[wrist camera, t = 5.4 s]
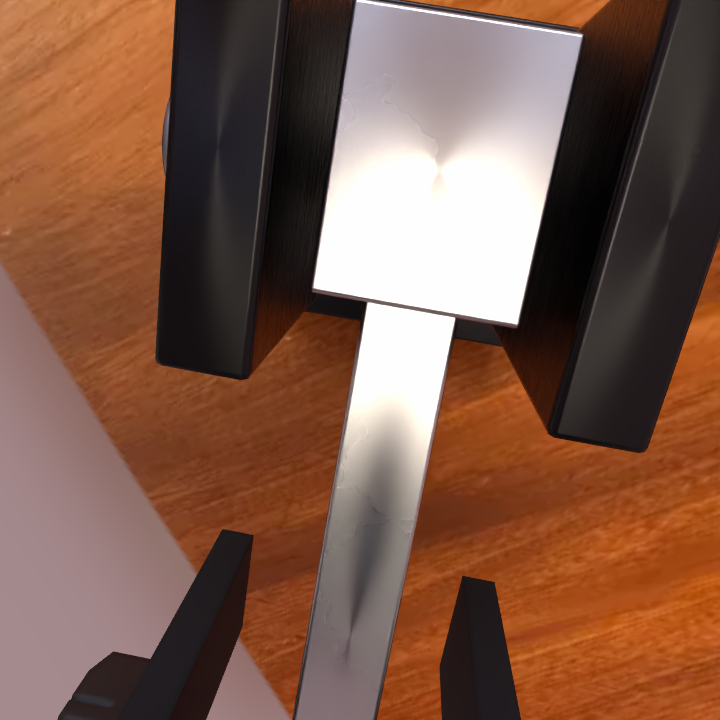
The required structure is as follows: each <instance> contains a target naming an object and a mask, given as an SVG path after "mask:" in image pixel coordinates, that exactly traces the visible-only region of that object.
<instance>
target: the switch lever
mask: <svg viewBox="0 0 720 720" xmlns="http://www.w3.org/2000/svg"><path fill="white" fill-rule="evenodd" d="M584 45H585V35H584V34H582V33H579V32H573V31H567V30H560V29H554V28H548V27H541V26H535V25H529V24H522V23H516V22H510V21H503V20H497V19H491V18H484V17H478V16H472V15H465V14H459V13H453V12H446V11H440V10H433V9H427V8H421V7H414V6H408V5H402V4H395V3H389V2H383V1H376V0H354V1H353V2H352V7H351V13H350V20H349V27H348V33H347V40H346V46H345V53H344V60H343V66H342V73H341V79H340V86H339V93H338V99H337V106H336V112H335V119H334V126H333V132H332V139H331V145H330V152H329V159H328V165H327V172H326V179H325V185H324V192H323V198H322V205H321V212H320V218H319V225H318V231H317V238H316V245H315V251H314V258H313V264H312V271H311V278H310V284H309V288H310V291H312V292H313V293H317V294H323V295H329V296H334V297H340V298H346V299H351V300H357V301H363V302H364V304H363V310H362V316H361V322H360V328H359V334H358V339H357V345H356V351H355V357H354V363H353V369H352V375H351V380H350V386H349V392H348V398H347V404H346V410H345V415H344V421H343V427H342V433H341V439H340V445H339V451H338V456H337V462H336V468H335V474H334V480H333V486H332V491H331V497H330V503H329V509H328V515H327V521H326V527H325V532H324V538H323V544H322V550H321V556H320V562H319V567H318V573H317V579H316V585H315V591H314V597H313V603H312V608H311V614H310V620H309V626H308V632H307V638H306V643H305V649H304V655H303V661H302V667H301V673H300V679H299V684H298V690H297V696H296V702H295V708H294V714H293V719H292V720H377V715H378V710H379V705H380V701H381V696H382V691H383V686H384V681H385V676H386V671H387V666H388V662H389V657H390V652H391V647H392V642H393V637H394V632H395V627H396V623H397V618H398V613H399V608H400V603H401V598H402V593H403V588H404V583H405V579H406V574H407V569H408V564H409V559H410V554H411V549H412V544H413V540H414V535H415V530H416V525H417V520H418V515H419V510H420V505H421V500H422V496H423V491H424V486H425V481H426V476H427V471H428V466H429V461H430V457H431V452H432V447H433V442H434V437H435V432H436V427H437V422H438V417H439V413H440V408H441V403H442V398H443V393H444V388H445V383H446V378H447V374H448V369H449V364H450V359H451V354H452V349H453V344H454V339H455V334H456V330H457V325H458V320H459V319H464V320H470V321H475V322H481V323H487V324H492V325H498V326H504V327H509V328H519V326H520V325H521V323H522V318H523V314H524V309H525V305H526V300H527V296H528V292H529V287H530V283H531V278H532V274H533V270H534V265H535V261H536V256H537V252H538V248H539V243H540V239H541V234H542V230H543V226H544V221H545V217H546V212H547V208H548V204H549V199H550V195H551V190H552V186H553V181H554V177H555V173H556V168H557V164H558V159H559V155H560V151H561V146H562V142H563V137H564V133H565V129H566V124H567V120H568V115H569V111H570V107H571V102H572V98H573V93H574V89H575V85H576V80H577V76H578V71H579V67H580V62H581V58H582V54H583V49H584Z"/></svg>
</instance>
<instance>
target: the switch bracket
mask: <svg viewBox="0 0 720 720" xmlns="http://www.w3.org/2000/svg"><path fill="white" fill-rule="evenodd" d="M353 1H354V0H176V4H175V22H174V40H173V57H172V75H171V92H170V98H169V101H168V104H167V108H166V113H165V118H164V125H163V135H162V155H163V165H164V172H165V177H166V180H165V198H164V215H163V233H162V250H161V268H160V285H159V303H158V321H157V338H156V356H155V358H156V362H157V363H158V364H160V365H163V366H168V367H173V368H178V369H184V370H189V371H195V372H200V373H206V374H211V375H217V376H222V377H227V378H233V379H238V380H244V379H248V378H249V377H250V376H251V375H252V373H253V372H254V371H255V370H256V369H257V368H258V366H259V365H260V364H261V363H262V362H263V360H264V359H265V358H266V357H267V356H268V354H269V353H270V352H271V351H272V350H273V348H274V347H275V346H276V345H277V344H278V342H279V341H280V340H281V339H282V338H283V336H284V335H285V334H286V333H287V332H288V331H289V329H290V328H291V327H292V326H293V325H294V323H295V322H296V321H297V320H298V319H299V317H300V316H301V315H302V314H303V313H304V311H306V312H311V313H317V314H323V315H328V316H334V317H339V318H345V319H351V320H356V321H361V316H362V310H363V304H364V302H363V301H357V300H351V299H346V298H340V297H334V296H329V295H323V294H317V293H313V292H312V291H310V288H309V284H310V278H311V271H312V264H313V258H314V251H315V245H316V238H317V231H318V225H319V218H320V212H321V205H322V198H323V192H324V185H325V179H326V172H327V165H328V159H329V152H330V145H331V139H332V132H333V126H334V119H335V112H336V106H337V99H338V93H339V86H340V79H341V73H342V66H343V60H344V53H345V46H346V40H347V33H348V27H349V20H350V13H351V7H352V2H353ZM376 1H383V2H389V3H395V4H402V5H408V6H414V7H421V8H427V9H433V10H440V11H446V12H453V13H459V14H465V15H472V16H478V17H484V18H491V19H497V20H503V21H510V22H516V23H522V24H529V25H535V26H541V27H548V28H554V29H560V30H567V31H573V32H579V33H582V34H584V35H585V45H584V49H583V54H582V58H581V62H580V67H579V71H578V76H577V80H576V85H575V89H574V93H573V98H572V102H571V107H570V111H569V115H568V120H567V124H566V129H565V133H564V137H563V142H562V146H561V151H560V155H559V159H558V164H557V168H556V173H555V177H554V181H553V186H552V190H551V195H550V199H549V204H548V208H547V212H546V217H545V221H544V226H543V230H542V234H541V239H540V243H539V248H538V252H537V256H536V261H535V265H534V270H533V274H532V278H531V283H530V287H529V292H528V296H527V300H526V305H525V309H524V314H523V318H522V323H521V325H520V326H519V328H509V327H504V326H498V325H492V324H487V323H481V322H475V321H470V320H464V319H459V320H458V325H457V330H456V334H455V338H457V339H463V340H468V341H474V342H479V343H485V344H491V345H496V346H502V347H503V348H504V350H505V352H506V354H507V356H508V358H509V360H510V362H511V364H512V366H513V368H514V369H515V371H516V373H517V375H518V377H519V379H520V381H521V383H522V385H523V387H524V389H525V391H526V392H527V394H528V396H529V398H530V400H531V402H532V404H533V406H534V408H535V410H536V412H537V414H538V415H539V417H540V419H541V421H542V423H543V425H544V427H545V429H546V431H547V433H548V434H549V435H551V436H553V437H554V438H560V439H565V440H571V441H576V442H581V443H587V444H592V445H598V446H603V447H609V448H614V449H620V450H625V451H630V452H636V453H642V452H645V450H646V449H647V448H648V445H649V442H650V439H651V437H652V434H653V431H654V428H655V425H656V422H657V419H658V416H659V413H660V410H661V407H662V404H663V401H664V399H665V396H666V393H667V390H668V387H669V384H670V381H671V378H672V375H673V372H674V369H675V366H676V363H677V361H678V358H679V355H680V352H681V349H682V346H683V343H684V340H685V337H686V334H687V331H688V328H689V326H690V323H691V320H692V317H693V314H694V311H695V308H696V305H697V302H698V299H699V296H700V293H701V290H702V288H703V285H704V282H705V279H706V276H707V273H708V270H709V267H710V264H711V261H712V258H713V255H714V252H715V250H716V247H717V244H718V241H719V238H720V0H610V1H609V2H608V3H607V4H606V5H605V6H604V7H603V8H602V9H601V10H600V11H598V12H597V13H596V14H595V15H594V16H593V17H592V18H591V19H590V20H589V21H588V22H586V23H585V24H584V25H583V26H582V27H581V28H578V27H571V26H565V25H559V24H552V23H546V22H540V21H533V20H527V19H520V18H514V17H508V16H501V15H495V14H489V13H482V12H476V11H470V10H463V9H457V8H451V7H444V6H438V5H431V4H425V3H419V2H412V1H406V0H376Z"/></svg>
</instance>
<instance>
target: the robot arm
mask: <svg viewBox="0 0 720 720" xmlns="http://www.w3.org/2000/svg"><path fill="white" fill-rule="evenodd" d="M252 543H253V535H250V534H245V533H240V532H235V531H230V530H224V529H223V530H222V531H221V533H220V535H219V537H218V539H217V540H216V542H215V544H214V546H213V548H212V549H211V551H210V553H209V555H208V556H207V558H206V560H205V562H204V564H203V565H202V567H201V569H200V571H199V573H198V574H197V576H196V578H195V580H194V582H193V584H192V585H191V587H190V589H189V591H188V593H187V594H186V596H185V598H184V600H183V602H182V603H181V605H180V607H179V609H178V611H177V613H176V614H175V616H174V618H173V619H172V622H171V623H170V625H169V627H168V628H167V631H166V632H165V634H164V636H163V638H162V639H161V641H160V643H159V645H158V646H157V648H156V650H155V652H154V654H153V656H152V657H151V659H147V658H143V657H138V656H133V655H127V654H123V653H118V652H112V653H111V654H110V655H108V656H107V657H106V658H104V659H103V660H102V661H101V662H99V663H98V664H97V665H95V666H94V667H93V668H92V669H90V670H89V671H88V673H87V674H86V676H85V677H84V679H83V680H82V682H81V683H80V685H79V686H78V688H77V689H76V691H75V692H74V694H73V696H72V699H71V700H69V701H68V703H67V704H66V706H65V707H64V709H63V710H62V712H61V713H60V715H59V717H58V720H206V718H207V716H208V713H209V711H210V708H211V706H212V703H213V701H214V698H215V695H216V693H217V690H218V688H219V685H220V683H221V680H222V677H223V675H224V672H225V670H226V667H227V665H228V662H229V660H230V657H231V654H232V652H233V649H234V647H235V644H236V642H237V639H238V636H239V634H240V631H241V629H242V625H243V617H244V609H245V601H246V592H247V584H248V576H249V568H250V560H251V552H252ZM440 685H441V707H442V720H521V717H520V712H519V707H518V701H517V696H516V691H515V686H514V681H513V675H512V670H511V665H510V660H509V655H508V650H507V644H506V639H505V634H504V629H503V624H502V619H501V613H500V608H499V603H498V598H497V593H496V588H495V582H491V581H486V580H481V579H476V578H471V577H465V576H462V580H461V584H460V588H459V592H458V596H457V600H456V604H455V608H454V612H453V616H452V620H451V624H450V628H449V632H448V635H447V639H446V643H445V647H444V651H443V655H442V659H441V663H440Z"/></svg>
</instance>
